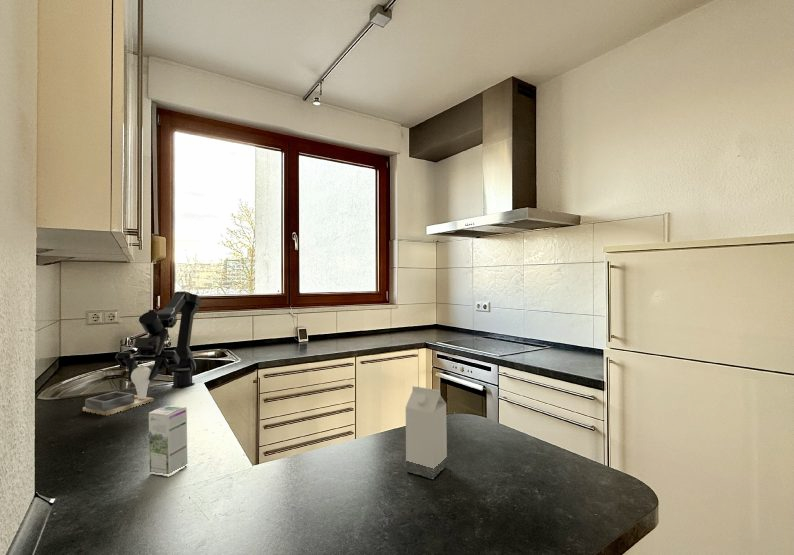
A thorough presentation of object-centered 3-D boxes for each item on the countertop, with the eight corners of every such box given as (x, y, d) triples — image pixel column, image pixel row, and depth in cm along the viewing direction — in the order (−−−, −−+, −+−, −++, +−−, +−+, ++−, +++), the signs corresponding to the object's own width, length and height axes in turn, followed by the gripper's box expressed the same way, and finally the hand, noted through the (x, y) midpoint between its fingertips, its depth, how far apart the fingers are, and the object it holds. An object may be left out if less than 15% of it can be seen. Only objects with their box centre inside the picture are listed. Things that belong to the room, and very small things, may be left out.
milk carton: (420, 460, 95) (419, 382, 95) (447, 467, 91) (446, 386, 91) (405, 473, 89) (405, 390, 89) (434, 481, 85) (433, 394, 85)
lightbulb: (133, 397, 132) (132, 365, 132) (154, 395, 134) (153, 363, 134) (129, 403, 126) (128, 369, 126) (151, 400, 129) (150, 367, 129)
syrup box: (188, 466, 93) (188, 405, 93) (168, 478, 87) (167, 414, 87) (169, 463, 94) (169, 403, 94) (148, 475, 89) (147, 412, 89)
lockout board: (130, 397, 148) (130, 386, 148) (153, 401, 143) (153, 390, 143) (82, 410, 133) (82, 398, 133) (106, 415, 128) (106, 403, 128)
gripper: (118, 328, 133) (97, 368, 122) (175, 327, 135) (161, 366, 124) (131, 347, 141) (113, 386, 130) (185, 345, 143) (172, 383, 132)
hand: (139, 380), depth 129 cm, fingers closed on lightbulb, 6 cm apart
